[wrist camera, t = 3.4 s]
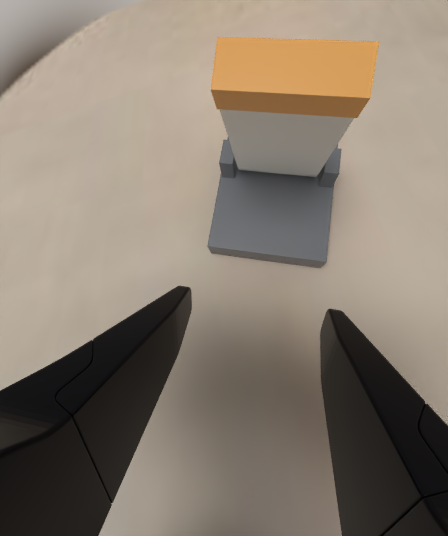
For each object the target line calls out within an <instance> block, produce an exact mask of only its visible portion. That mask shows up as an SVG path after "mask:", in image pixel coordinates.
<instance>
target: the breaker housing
mask: <svg viewBox="0 0 448 536" xmlns="http://www.w3.org/2000/svg"><path fill="white" fill-rule="evenodd" d="M337 147H338V144H337V146H336V147H335V149H334V150H333V152H332V154H331V155H330V157H329V158H328V160H327V161H326V163H325V165H324V166H323V168H322V169H321V171H320V172H319V174H318V175H317V177H310V176H300V175H289V174H278V173H267V172H256V171H246V170H239V169H238V167H237V164H236V161H235V157H234V154H233V151H232V148H231V144H230V141H229V138H228V139H227V140H224V141H223V146H222V151H221V156H220V162H219V164H220V169H221V177H220V182H219V187H218V193H217V198H216V203H215V209H214V214H213V219H212V225H211V230H210V235H209V241H208V248H209V250H210V252H211V253H215V254H222V255H229V256H237V257H244V258H251V259H259V260H266V261H273V262H281V263H288V264H295V265H303V266H310V267H317V268H321V267H322V266H323V265H324V264H325V263H326V260H327V250H328V240H329V229H330V219H331V209H332V199H333V188H334V182H335V180H336V178H337V177H338V175H339V168H340V158H341V149H337Z"/></svg>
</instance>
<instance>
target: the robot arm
mask: <svg viewBox="0 0 448 536" xmlns="http://www.w3.org/2000/svg"><path fill="white" fill-rule="evenodd" d="M191 309H192V300H191V289H190V288H189V287H184V286H177V287H176V288H174V289H172V290H171V291H169V292H168V293H166V294H164V295H163V296H161V297H160V298H158V299H156V300H155V301H153V302H152V303H150V304H148V305H147V306H145V307H144V308H142V309H140V310H139V311H137V312H136V313H134V314H132V315H131V316H129V317H128V318H126V319H124V320H123V321H121V322H120V323H118V324H116V325H115V326H113V327H112V328H110V329H108V330H107V331H105V332H104V333H102V334H100V335H99V336H97V337H96V338H94V339H93V341H92V340H91V341H89V342H87V343H86V344H84V345H83V346H81V347H79V348H78V349H76V350H74V351H73V352H71V353H69V354H68V355H66V356H64V357H63V358H61V359H59V360H57V361H55V362H54V363H52V364H50V365H48V366H46V367H44V368H43V369H41V370H39V371H37V372H35V373H33V374H31V375H29V376H27V377H25V378H24V379H22V380H20V381H18V382H16V383H14V384H12V385H10V386H8V387H6V388H4V389H3V390H1V391H0V536H98V535H99V533H100V531H101V528H102V526H103V524H104V522H105V519H106V517H107V515H108V512H109V510H110V508H111V506H112V504H111V503H113V501H114V499H115V496H116V494H117V492H118V489H119V487H120V485H121V483H122V480H123V478H124V476H125V474H126V471H127V469H128V467H129V465H130V462H131V460H132V458H133V455H134V453H135V451H136V449H137V446H138V444H139V442H140V440H141V437H142V435H143V433H144V431H145V428H146V426H147V424H148V421H149V419H150V417H151V415H152V412H153V410H154V408H155V406H156V403H157V401H158V399H159V396H160V394H161V392H162V390H163V387H164V385H165V383H166V381H167V378H168V376H169V374H170V372H171V369H172V367H173V365H174V362H175V360H176V358H177V355H178V353H179V350H180V347H181V344H182V340H183V337H184V334H185V330H186V327H187V324H188V321H189V317H190V314H191ZM320 351H321V384H322V392H323V399H324V407H325V414H326V421H327V429H328V436H329V443H330V451H331V458H332V465H333V473H334V480H335V487H336V495H337V502H338V509H339V517H340V524H341V531H342V536H448V425H447V424H446V423H445V422H444V421H443V420H442V419H441V418H440V417H439V416H438V415H437V414H436V413H435V412H434V410H433V409H432V408H431V407H430V406H429V405H428V404H425V401H424V400H423V399H422V398H421V396H420V395H419V394H418V393H417V392H416V391H415V390H414V389H413V388H412V387H411V386H410V384H409V383H408V382H407V381H406V380H405V379H404V378H403V377H402V376H401V375H400V374H399V372H398V371H397V370H396V369H395V368H394V367H393V366H392V365H391V364H390V363H389V362H388V360H387V359H386V358H385V357H384V356H383V355H382V354H381V353H380V352H379V351H378V350H377V348H376V347H375V346H374V345H373V344H372V343H371V342H370V341H369V340H368V339H367V338H366V336H365V335H364V334H363V333H362V332H361V331H360V330H359V329H358V328H357V327H356V326H355V324H354V323H353V322H352V321H351V320H350V319H349V318H348V317H347V316H346V315H345V314H344V312H342V311H340V310H334V309H328V310H327V312H326V314H325V318H324V321H323V324H322V327H321V333H320Z"/></svg>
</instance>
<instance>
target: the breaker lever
mask: <svg viewBox="0 0 448 536" xmlns="http://www.w3.org/2000/svg"><path fill="white" fill-rule="evenodd" d="M378 46H379V42H376V41H339V40H302V39H266V38H229V37H217V44H216V52H215V60H214V68H213V76H212V83H211V92H212V95H213V98H214V101H215V104H216V107H217V109H220V112H221V115H222V119H223V122H224V125H225V128H226V131H227V135H228V138H229V141H230V144H231V148H232V151H233V154H234V157H235V161H236V164H237V167H238V169H239V170H246V171H256V172H267V173H278V174H289V175H300V176H310V177H317V175H318V174H319V172H320V171H321V169H322V168H323V166H324V165H325V163H326V161H327V160H328V158H329V157H330V155H331V154H332V152H333V150H334V149H335V147H336V146H337V144H338V143H339V141H340V139H341V138H342V136H343V135H344V133H345V132H346V130H347V128H348V127H349V125H350V124H351V122H352V121H353V119H354V118H357V117H358V116H359V114H360V113H361V111H362V110H363V108H364V107H365V105H366V104H367V102H368V101H369V99H370V96H371V90H372V84H373V77H374V71H375V65H376V59H377V52H378Z"/></svg>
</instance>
